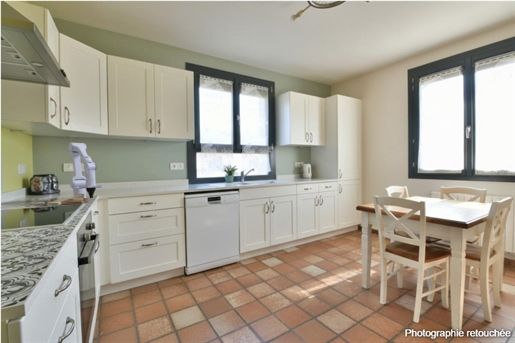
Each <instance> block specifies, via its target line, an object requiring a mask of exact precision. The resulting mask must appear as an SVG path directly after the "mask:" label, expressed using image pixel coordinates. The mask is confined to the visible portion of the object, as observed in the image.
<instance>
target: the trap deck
mask: <svg viewBox="0 0 515 343" xmlns="http://www.w3.org/2000/svg"><path fill="white" fill-rule="evenodd" d="M88 201H89V197H87V198H84V200H77V201H74V200H72V199H67V198H63V199H58V198H57V197H53V198H50V199H47V200H44V206H45V207H57V206H58V207H59V206H60V207H61V206H73V205H75V206H76V205H83V204H85V203H86V202H88Z"/></svg>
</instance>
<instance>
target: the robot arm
mask: <svg viewBox="0 0 515 343" xmlns="http://www.w3.org/2000/svg"><path fill="white" fill-rule="evenodd" d="M68 153H69V155H71V158H72V159H71V160H72V167H73V176H72V177H71V178H70V179H69V186H70V188H72V193H73V194H72V196H73V197H72V198H73V199H71V200H74V195H75V194H84V198H88V197H87V193H88V196H89V199H93V198H94V197H93V196H94V194H95V191H96V189H97V188H98V189H102V188H104V185H103V184H96V183H97V182H96V171H97V163H95V162H94V161H93V160H92V158H91V156H90V155H88V153H87V144H86V143H85V142H69V144H68ZM81 163H82V164H83V170H84V174H85V176H84V175H83V170H82V164H81Z"/></svg>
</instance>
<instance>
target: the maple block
mask: <svg viewBox="0 0 515 343" xmlns="http://www.w3.org/2000/svg"><path fill="white" fill-rule="evenodd" d="M73 199H74V201H77V200H84V194H75V195H74V197H73Z"/></svg>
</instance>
